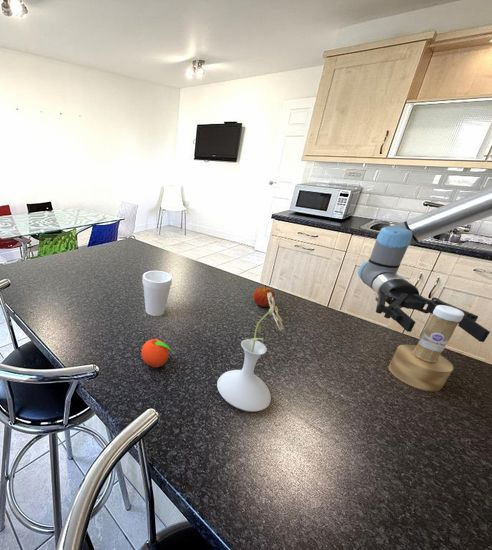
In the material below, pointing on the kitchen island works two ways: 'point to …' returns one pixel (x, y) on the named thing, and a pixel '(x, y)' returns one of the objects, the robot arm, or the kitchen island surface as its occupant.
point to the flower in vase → (249, 372)
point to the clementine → (155, 353)
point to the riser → (419, 369)
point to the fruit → (262, 296)
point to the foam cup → (156, 291)
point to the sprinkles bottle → (437, 333)
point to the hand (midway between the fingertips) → (447, 331)
